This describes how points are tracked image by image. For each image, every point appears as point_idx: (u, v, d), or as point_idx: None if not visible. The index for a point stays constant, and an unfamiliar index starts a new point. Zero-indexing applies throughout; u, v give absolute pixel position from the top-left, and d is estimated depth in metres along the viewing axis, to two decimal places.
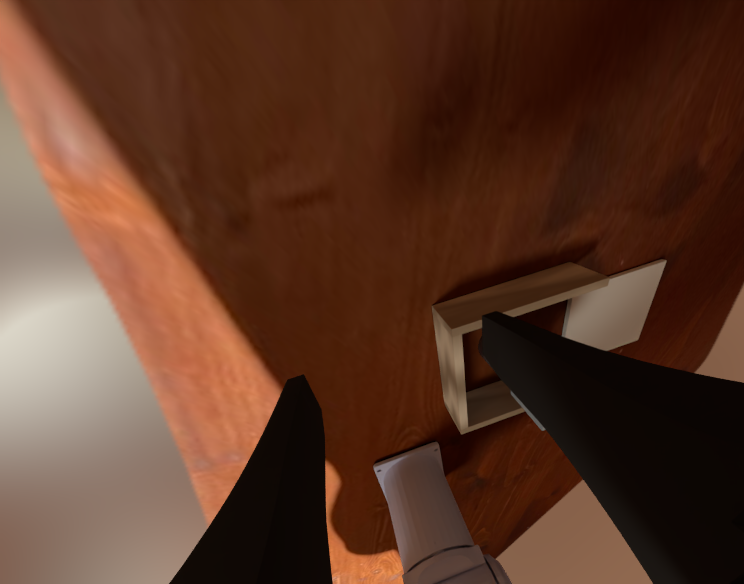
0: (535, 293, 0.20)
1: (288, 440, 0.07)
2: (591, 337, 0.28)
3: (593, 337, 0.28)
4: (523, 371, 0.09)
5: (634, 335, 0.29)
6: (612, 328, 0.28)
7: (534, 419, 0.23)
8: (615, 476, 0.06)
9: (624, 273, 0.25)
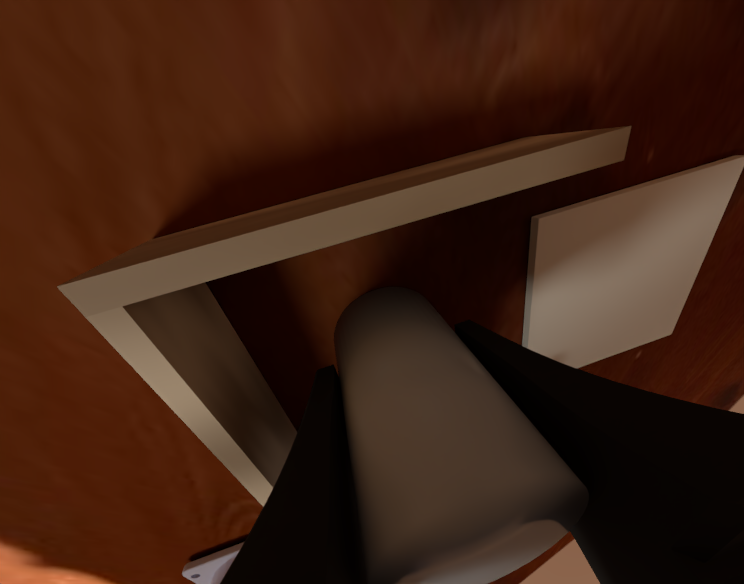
0: (400, 183, 0.07)
1: (330, 425, 0.07)
2: (584, 328, 0.14)
3: (587, 329, 0.14)
4: None
5: (664, 326, 0.15)
6: (624, 310, 0.14)
7: None
8: None
9: (655, 182, 0.11)
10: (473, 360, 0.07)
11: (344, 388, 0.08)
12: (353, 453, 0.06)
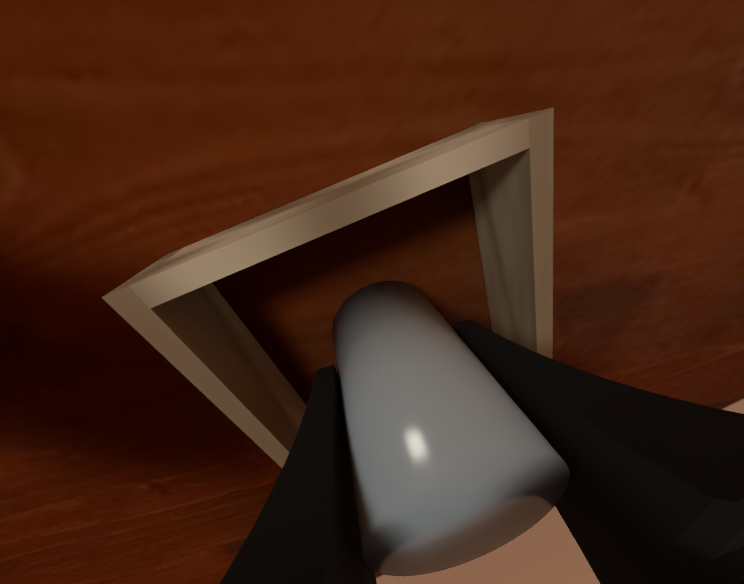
0: None
1: (330, 425, 0.07)
2: None
3: None
4: None
5: None
6: None
7: None
8: (573, 493, 0.06)
9: None
10: (469, 351, 0.08)
11: (343, 373, 0.08)
12: (352, 432, 0.07)
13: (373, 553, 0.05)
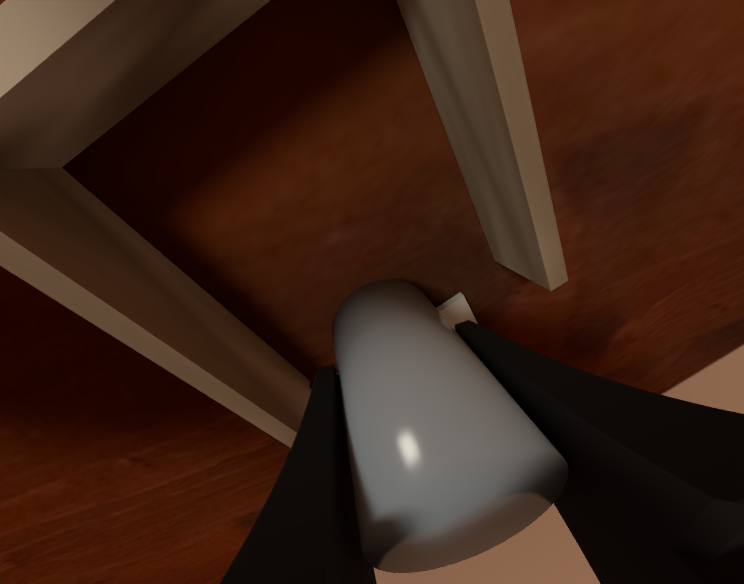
0: None
1: (330, 425, 0.07)
2: None
3: None
4: None
5: None
6: None
7: None
8: (573, 493, 0.06)
9: None
10: (468, 349, 0.08)
11: (343, 371, 0.09)
12: (351, 429, 0.07)
13: (372, 548, 0.05)
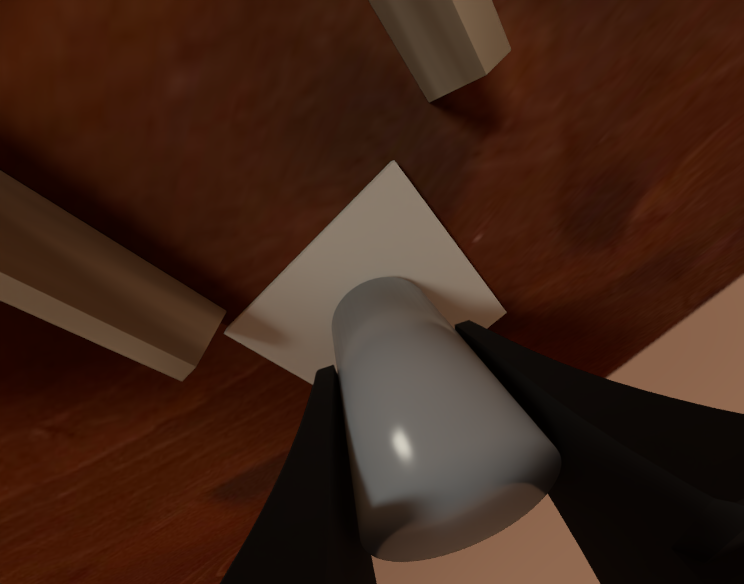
0: None
1: (330, 425, 0.07)
2: (329, 329, 0.12)
3: (331, 333, 0.12)
4: None
5: None
6: None
7: None
8: (573, 493, 0.06)
9: (465, 258, 0.12)
10: (463, 343, 0.08)
11: (341, 367, 0.09)
12: (349, 423, 0.07)
13: (370, 538, 0.06)
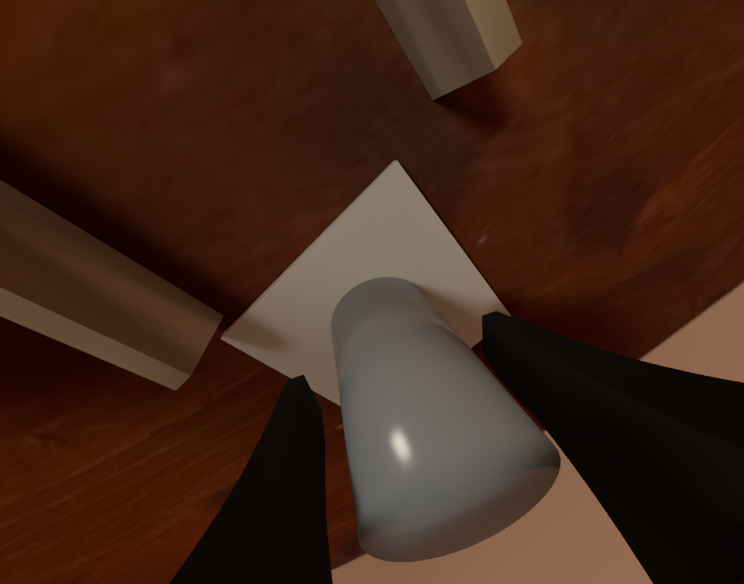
0: None
1: (288, 440, 0.07)
2: (329, 334, 0.12)
3: (331, 338, 0.12)
4: (523, 371, 0.09)
5: None
6: None
7: None
8: (615, 476, 0.06)
9: None
10: (462, 343, 0.08)
11: (340, 367, 0.09)
12: (347, 422, 0.07)
13: (368, 537, 0.06)
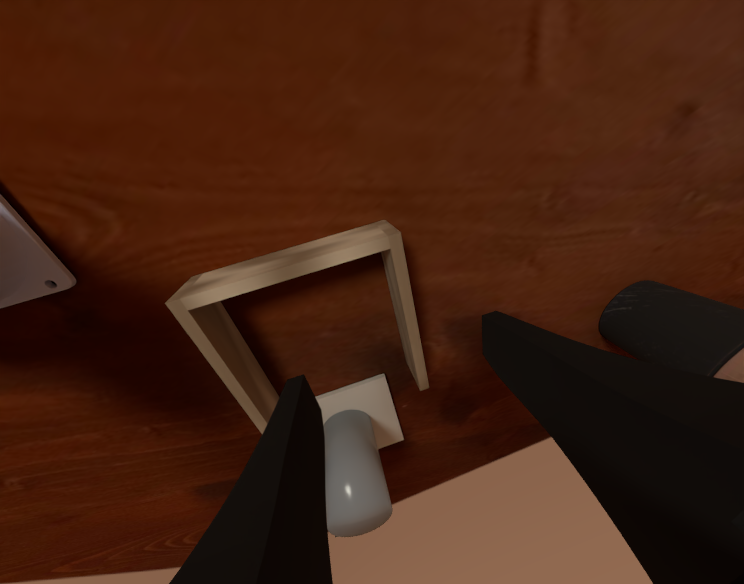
0: None
1: (288, 440, 0.07)
2: None
3: None
4: (523, 371, 0.09)
5: None
6: None
7: None
8: (615, 476, 0.06)
9: (395, 413, 0.26)
10: (379, 460, 0.22)
11: (332, 452, 0.21)
12: (333, 479, 0.20)
13: (331, 520, 0.18)
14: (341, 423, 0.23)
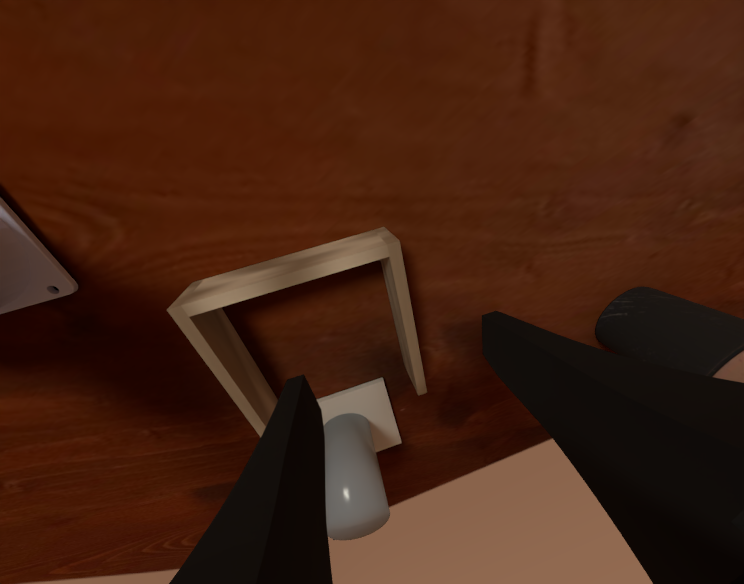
0: None
1: (288, 440, 0.07)
2: None
3: None
4: (523, 371, 0.09)
5: None
6: None
7: None
8: (615, 476, 0.06)
9: None
10: (377, 464, 0.22)
11: (330, 456, 0.22)
12: (331, 483, 0.20)
13: (330, 524, 0.18)
14: (339, 427, 0.23)
